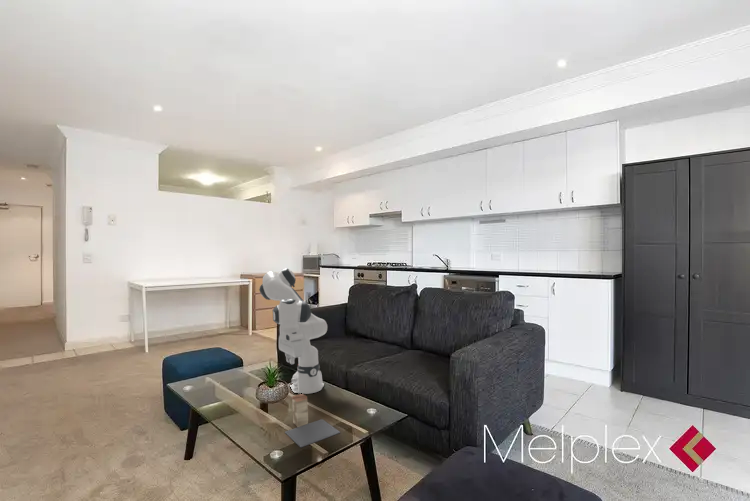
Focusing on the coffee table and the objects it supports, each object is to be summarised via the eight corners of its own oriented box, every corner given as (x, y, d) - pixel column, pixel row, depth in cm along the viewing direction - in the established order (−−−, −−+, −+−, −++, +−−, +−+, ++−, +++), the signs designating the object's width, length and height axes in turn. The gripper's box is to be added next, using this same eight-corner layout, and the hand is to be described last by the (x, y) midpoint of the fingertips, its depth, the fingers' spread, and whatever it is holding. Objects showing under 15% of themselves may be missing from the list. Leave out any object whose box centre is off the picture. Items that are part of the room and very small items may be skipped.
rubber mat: (284, 432, 156) (284, 431, 156) (322, 419, 167) (322, 419, 167) (300, 447, 143) (300, 446, 143) (340, 432, 154) (340, 431, 154)
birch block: (293, 423, 165) (292, 396, 165) (303, 419, 168) (302, 393, 168) (297, 427, 161) (296, 399, 161) (308, 423, 164) (307, 396, 164)
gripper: (274, 331, 179) (275, 359, 178) (291, 338, 162) (292, 369, 162) (287, 329, 182) (288, 357, 182) (304, 335, 166) (306, 366, 166)
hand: (290, 363), depth 172 cm, fingers open, 2 cm apart
